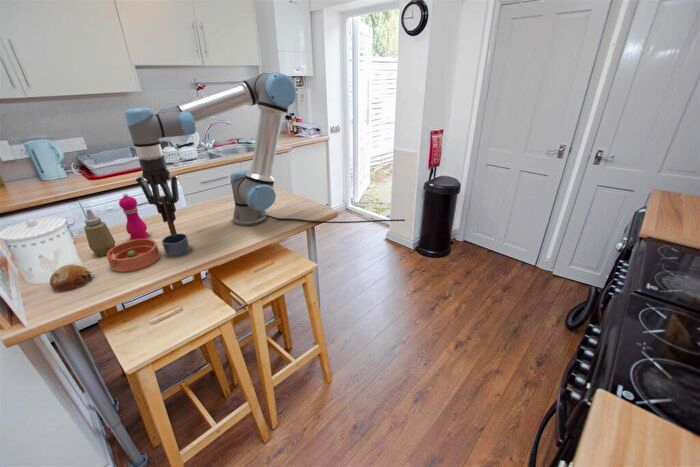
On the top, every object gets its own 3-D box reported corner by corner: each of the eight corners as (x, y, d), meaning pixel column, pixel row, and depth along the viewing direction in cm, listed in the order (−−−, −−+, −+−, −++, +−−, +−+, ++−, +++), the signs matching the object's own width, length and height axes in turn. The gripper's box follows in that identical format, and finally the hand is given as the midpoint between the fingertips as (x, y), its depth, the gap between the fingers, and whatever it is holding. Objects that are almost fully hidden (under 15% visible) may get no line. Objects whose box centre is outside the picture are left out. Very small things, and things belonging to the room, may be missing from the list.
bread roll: (77, 282, 112) (59, 266, 108) (101, 271, 110) (82, 253, 107) (57, 300, 103) (35, 283, 99) (82, 288, 102) (61, 270, 98)
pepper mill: (140, 242, 131) (125, 197, 122) (125, 241, 132) (109, 195, 123) (153, 234, 137) (139, 191, 128) (139, 233, 138) (124, 189, 129)
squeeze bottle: (99, 259, 119) (80, 216, 110) (89, 254, 123) (70, 211, 114) (122, 250, 125) (106, 208, 117) (112, 245, 129) (95, 204, 120)
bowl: (166, 249, 126) (163, 237, 123) (150, 271, 112) (146, 258, 109) (124, 252, 124) (119, 240, 121) (102, 275, 110) (97, 261, 107)
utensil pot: (193, 245, 128) (189, 232, 126) (186, 257, 121) (182, 243, 118) (170, 247, 127) (166, 234, 124) (162, 258, 119) (158, 244, 117)
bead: (139, 255, 120) (136, 248, 119) (135, 259, 118) (133, 252, 116) (130, 256, 120) (128, 249, 119) (126, 260, 117) (124, 253, 116)
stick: (178, 234, 122) (166, 195, 114) (176, 236, 120) (164, 197, 113) (172, 234, 122) (160, 195, 114) (170, 237, 120) (158, 197, 112)
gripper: (178, 153, 111) (194, 215, 122) (132, 155, 109) (152, 217, 120) (170, 159, 105) (188, 223, 115) (121, 161, 103) (144, 226, 114)
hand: (169, 220), depth 118 cm, fingers closed on stick, 2 cm apart
